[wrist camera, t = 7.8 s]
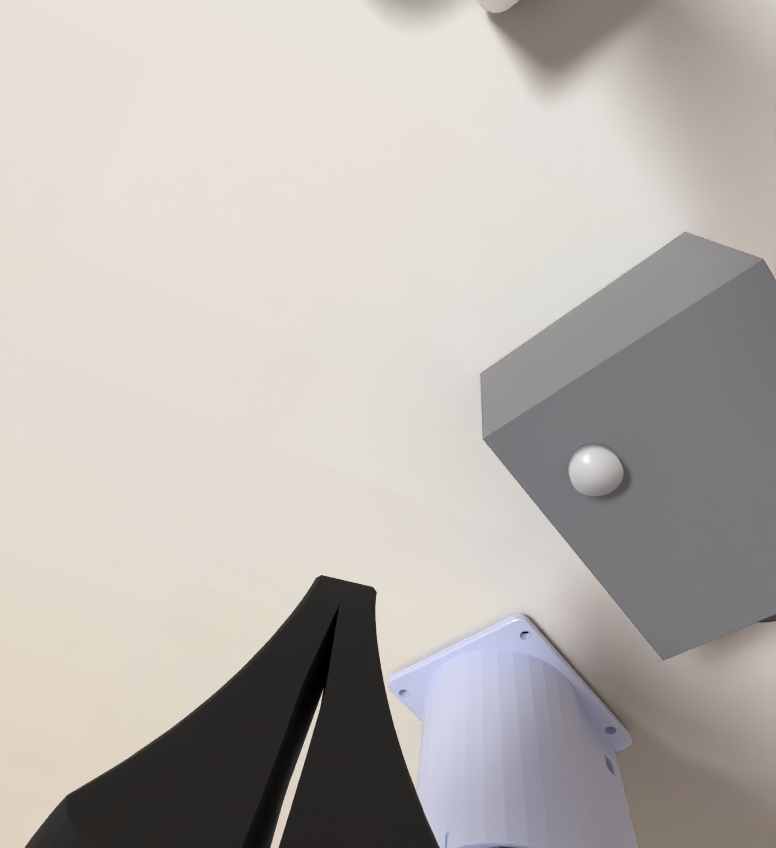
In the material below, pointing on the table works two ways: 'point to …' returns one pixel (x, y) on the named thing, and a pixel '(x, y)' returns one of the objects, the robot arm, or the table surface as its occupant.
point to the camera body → (656, 438)
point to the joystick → (497, 5)
